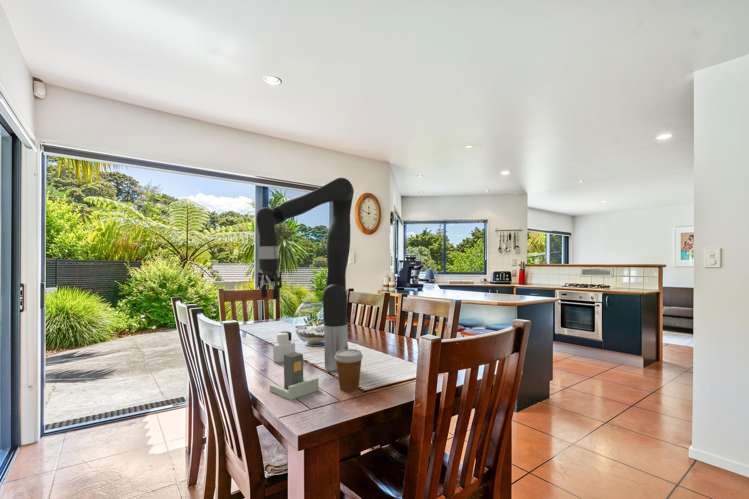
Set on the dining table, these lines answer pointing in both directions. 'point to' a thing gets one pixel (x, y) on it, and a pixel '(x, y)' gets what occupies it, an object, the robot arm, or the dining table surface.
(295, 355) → the tall gray pillar block
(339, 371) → the disposable coffee cup
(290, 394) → the mount
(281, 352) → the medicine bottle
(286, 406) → the dining table surface
